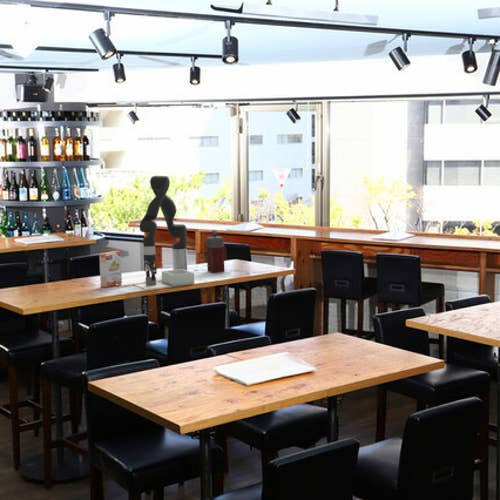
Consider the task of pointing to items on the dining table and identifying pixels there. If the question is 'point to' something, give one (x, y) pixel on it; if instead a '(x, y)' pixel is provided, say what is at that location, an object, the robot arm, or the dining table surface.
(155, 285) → the lid
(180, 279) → the box
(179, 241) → the robot arm
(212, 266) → the dark red pepper mill
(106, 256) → the cracker box
